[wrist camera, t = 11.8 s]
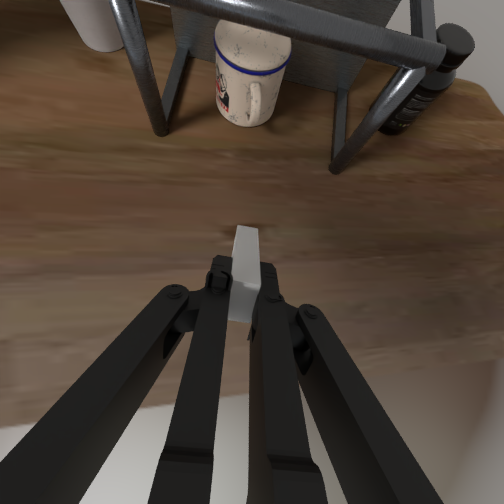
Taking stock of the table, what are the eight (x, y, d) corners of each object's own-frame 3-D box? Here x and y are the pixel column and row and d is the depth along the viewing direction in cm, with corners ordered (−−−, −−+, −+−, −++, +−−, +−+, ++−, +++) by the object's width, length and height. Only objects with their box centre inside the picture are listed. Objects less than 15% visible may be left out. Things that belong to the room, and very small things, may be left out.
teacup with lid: (212, 78, 37) (210, -27, 25) (271, 80, 38) (294, -17, 27) (217, 147, 34) (217, 64, 23) (281, 147, 35) (310, 69, 24)
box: (152, 134, 33) (87, -43, 16) (178, 48, 37) (148, -161, 21) (341, 175, 35) (447, 56, 19) (345, 90, 40) (435, -67, 23)
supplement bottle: (413, 120, 40) (492, 41, 28) (393, 144, 38) (469, 71, 27) (380, 94, 40) (445, 7, 29) (359, 118, 39) (419, 34, 27)
